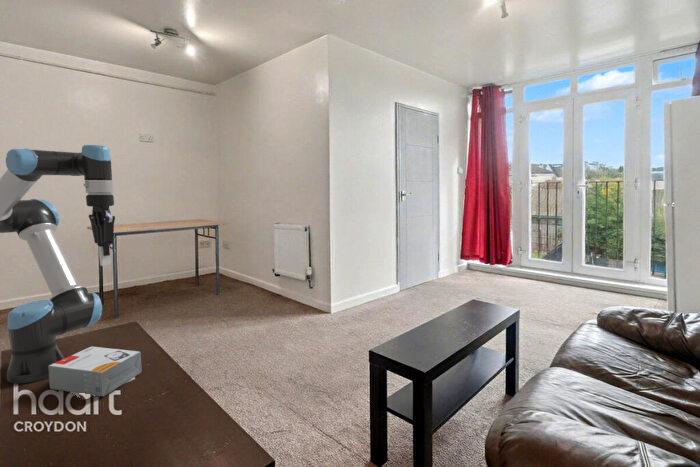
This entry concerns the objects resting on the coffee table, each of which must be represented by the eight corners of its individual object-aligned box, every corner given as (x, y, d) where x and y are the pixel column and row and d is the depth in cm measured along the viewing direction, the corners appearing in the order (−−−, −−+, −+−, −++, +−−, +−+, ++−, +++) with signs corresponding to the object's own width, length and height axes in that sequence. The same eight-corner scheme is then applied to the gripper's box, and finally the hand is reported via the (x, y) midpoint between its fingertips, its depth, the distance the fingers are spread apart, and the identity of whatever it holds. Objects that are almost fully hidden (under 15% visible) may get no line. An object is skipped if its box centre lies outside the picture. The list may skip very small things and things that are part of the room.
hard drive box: (101, 372, 110) (46, 366, 115) (103, 397, 111) (48, 390, 115) (141, 350, 126) (90, 345, 130) (142, 372, 126) (92, 367, 131)
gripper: (77, 193, 123) (84, 264, 126) (96, 194, 116) (102, 269, 119) (102, 193, 130) (108, 260, 133) (121, 194, 122) (127, 265, 126)
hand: (105, 265), depth 126 cm, fingers closed
